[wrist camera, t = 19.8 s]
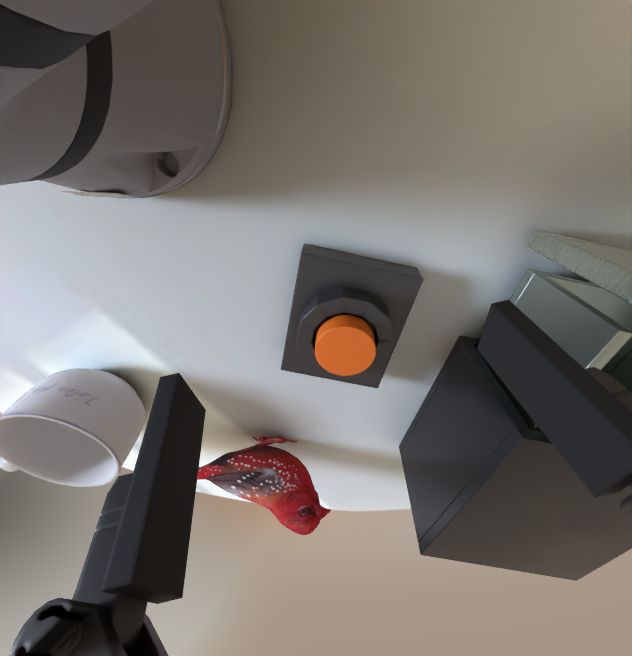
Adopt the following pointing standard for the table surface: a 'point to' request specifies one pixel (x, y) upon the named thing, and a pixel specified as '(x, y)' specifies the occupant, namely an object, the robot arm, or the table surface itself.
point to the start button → (345, 345)
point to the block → (348, 307)
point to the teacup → (72, 428)
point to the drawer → (581, 306)
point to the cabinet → (501, 483)
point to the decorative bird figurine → (270, 483)
